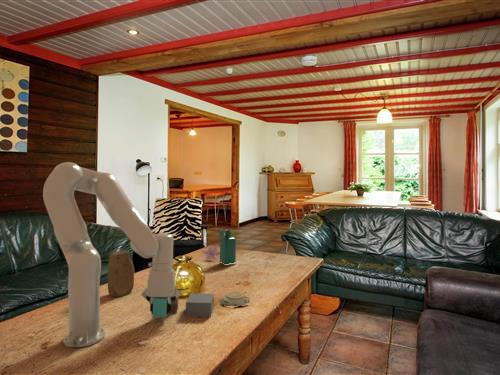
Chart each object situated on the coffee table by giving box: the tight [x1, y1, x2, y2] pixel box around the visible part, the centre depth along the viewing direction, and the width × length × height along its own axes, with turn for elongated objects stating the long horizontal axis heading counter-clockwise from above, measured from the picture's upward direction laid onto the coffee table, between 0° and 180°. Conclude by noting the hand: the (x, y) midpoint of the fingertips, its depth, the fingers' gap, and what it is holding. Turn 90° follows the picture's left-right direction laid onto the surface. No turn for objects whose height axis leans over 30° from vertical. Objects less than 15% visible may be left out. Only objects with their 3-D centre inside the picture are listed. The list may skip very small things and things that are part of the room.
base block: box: [185, 292, 215, 318], centre depth 136 cm, size 10×10×6 cm
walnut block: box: [169, 292, 179, 314], centre depth 136 cm, size 5×5×7 cm
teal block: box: [152, 297, 168, 318], centre depth 127 cm, size 5×5×7 cm
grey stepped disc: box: [218, 291, 251, 307], centre depth 147 cm, size 15×4×15 cm
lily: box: [201, 244, 220, 260], centre depth 219 cm, size 12×12×10 cm
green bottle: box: [218, 229, 237, 264], centre depth 209 cm, size 10×8×22 cm
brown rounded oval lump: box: [107, 249, 135, 298], centre depth 155 cm, size 11×8×20 cm
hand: (160, 312), depth 127 cm, fingers closed on teal block, 5 cm apart
